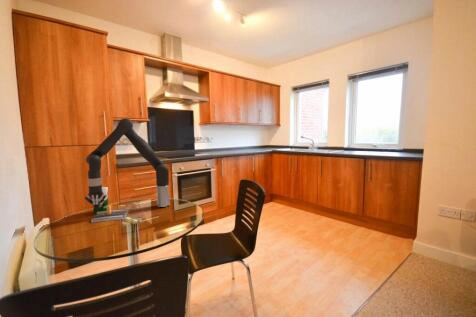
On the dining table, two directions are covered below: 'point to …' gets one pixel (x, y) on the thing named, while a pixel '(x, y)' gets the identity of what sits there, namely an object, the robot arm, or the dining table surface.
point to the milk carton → (104, 203)
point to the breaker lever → (108, 210)
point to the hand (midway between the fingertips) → (96, 209)
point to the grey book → (109, 215)
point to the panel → (110, 218)
